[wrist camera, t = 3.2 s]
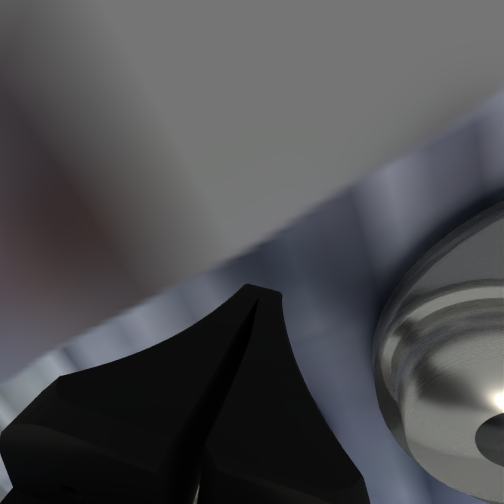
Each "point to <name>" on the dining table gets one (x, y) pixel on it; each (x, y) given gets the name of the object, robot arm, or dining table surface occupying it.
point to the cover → (452, 383)
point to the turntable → (436, 276)
